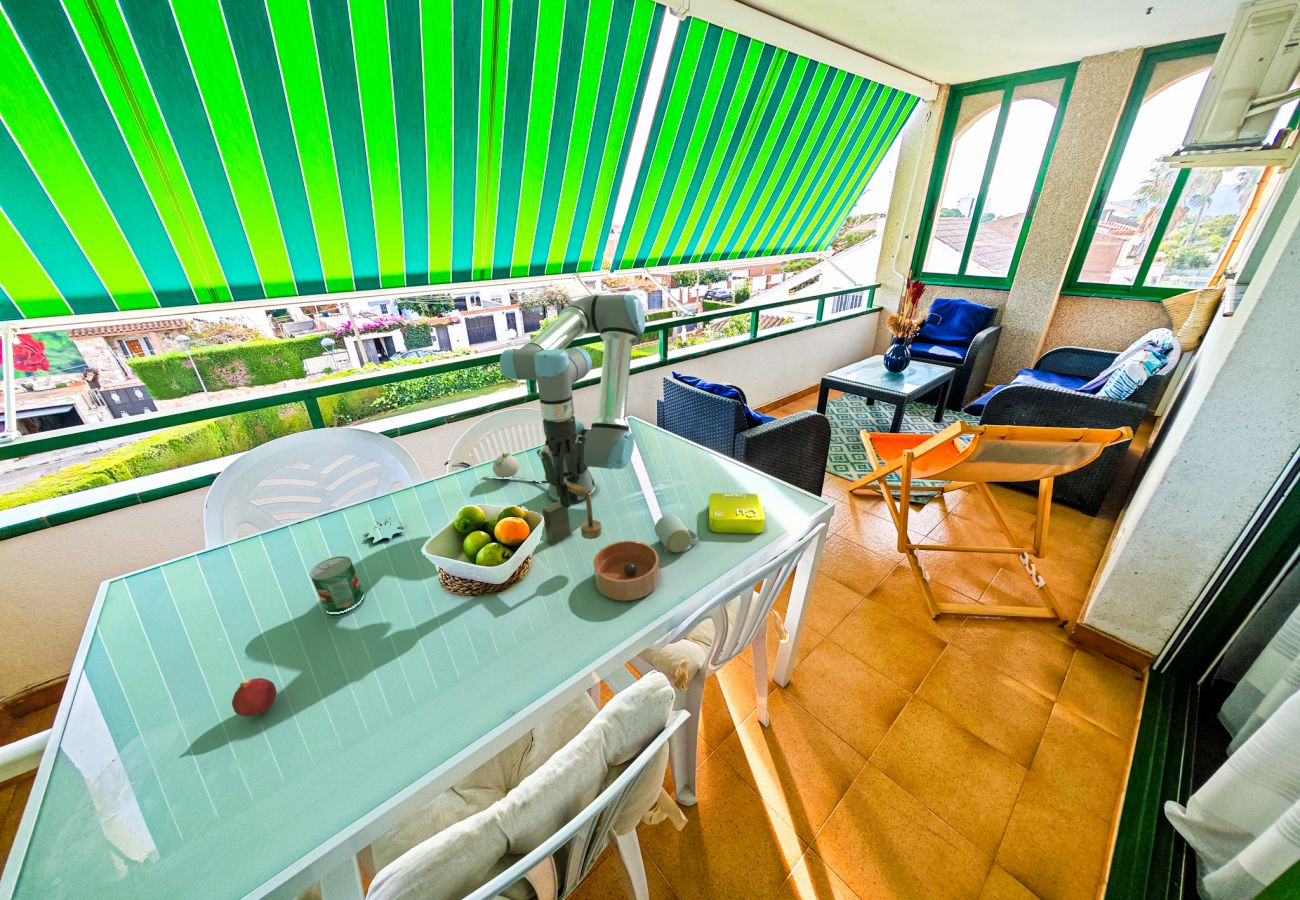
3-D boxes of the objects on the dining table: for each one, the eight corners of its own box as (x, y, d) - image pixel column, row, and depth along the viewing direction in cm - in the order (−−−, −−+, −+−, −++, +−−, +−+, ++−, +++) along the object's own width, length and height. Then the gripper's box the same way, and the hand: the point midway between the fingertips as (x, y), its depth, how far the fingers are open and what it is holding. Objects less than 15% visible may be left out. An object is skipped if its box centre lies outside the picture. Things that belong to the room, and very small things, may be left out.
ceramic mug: (667, 558, 117) (667, 532, 114) (654, 540, 124) (654, 516, 121) (703, 547, 121) (704, 522, 118) (689, 531, 128) (689, 507, 125)
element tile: (758, 505, 139) (759, 491, 137) (764, 534, 125) (765, 519, 123) (708, 504, 140) (708, 491, 138) (709, 532, 127) (709, 518, 125)
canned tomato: (373, 597, 108) (359, 559, 103) (343, 621, 101) (327, 581, 97) (348, 590, 110) (334, 553, 106) (317, 613, 104) (300, 574, 99)
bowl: (582, 582, 110) (580, 562, 108) (627, 552, 120) (626, 533, 118) (627, 612, 100) (625, 591, 98) (672, 577, 110) (671, 557, 108)
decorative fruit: (516, 485, 157) (511, 459, 152) (492, 486, 157) (487, 459, 153) (523, 472, 165) (519, 447, 161) (501, 473, 165) (496, 448, 161)
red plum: (257, 698, 84) (239, 667, 81) (290, 695, 85) (273, 664, 81) (234, 729, 79) (214, 697, 76) (269, 725, 79) (250, 693, 76)
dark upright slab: (547, 540, 126) (542, 508, 122) (564, 531, 130) (560, 499, 126) (553, 545, 124) (548, 512, 120) (571, 535, 128) (567, 503, 124)
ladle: (545, 516, 122) (539, 477, 118) (560, 509, 126) (555, 470, 121) (590, 541, 111) (586, 498, 106) (605, 532, 114) (602, 491, 110)
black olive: (623, 562, 112) (619, 572, 110) (631, 559, 110) (627, 569, 108) (632, 569, 113) (628, 579, 111) (640, 566, 111) (636, 576, 109)
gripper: (541, 430, 100) (554, 521, 110) (593, 411, 110) (601, 496, 120) (522, 422, 105) (536, 510, 114) (573, 405, 115) (582, 488, 124)
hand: (569, 503), depth 117 cm, fingers closed on ladle, 2 cm apart
